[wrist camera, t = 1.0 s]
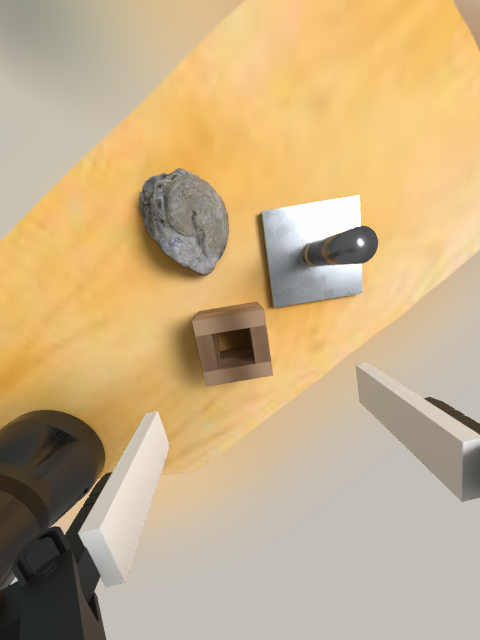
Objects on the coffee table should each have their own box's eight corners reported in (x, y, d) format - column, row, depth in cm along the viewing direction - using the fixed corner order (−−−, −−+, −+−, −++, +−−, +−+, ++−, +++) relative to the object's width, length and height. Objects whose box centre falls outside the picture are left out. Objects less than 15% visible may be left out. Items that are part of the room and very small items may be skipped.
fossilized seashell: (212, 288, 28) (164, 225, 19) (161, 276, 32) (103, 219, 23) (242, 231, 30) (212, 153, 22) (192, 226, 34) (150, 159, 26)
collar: (210, 365, 32) (205, 386, 26) (199, 311, 30) (191, 321, 24) (264, 356, 32) (273, 375, 26) (257, 301, 30) (263, 309, 24)
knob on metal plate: (272, 306, 30) (296, 326, 20) (260, 213, 28) (280, 176, 17) (358, 292, 30) (428, 304, 20) (354, 198, 28) (433, 152, 17)
